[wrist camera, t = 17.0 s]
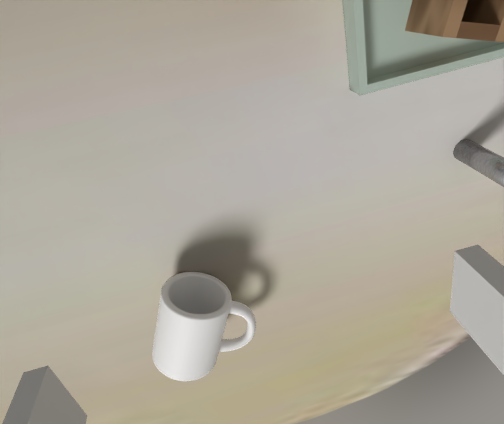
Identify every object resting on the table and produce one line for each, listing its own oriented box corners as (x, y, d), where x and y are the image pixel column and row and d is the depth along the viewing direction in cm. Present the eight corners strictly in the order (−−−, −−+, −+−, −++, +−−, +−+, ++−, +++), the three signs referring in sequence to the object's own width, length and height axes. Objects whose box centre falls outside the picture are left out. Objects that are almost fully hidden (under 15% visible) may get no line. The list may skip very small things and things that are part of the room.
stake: (454, 131, 43) (531, 170, 33) (475, 126, 43) (557, 163, 33) (452, 171, 45) (522, 217, 36) (471, 166, 45) (546, 211, 36)
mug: (154, 328, 50) (149, 381, 43) (162, 268, 45) (159, 316, 39) (242, 332, 53) (251, 382, 46) (259, 276, 48) (272, 322, 42)
